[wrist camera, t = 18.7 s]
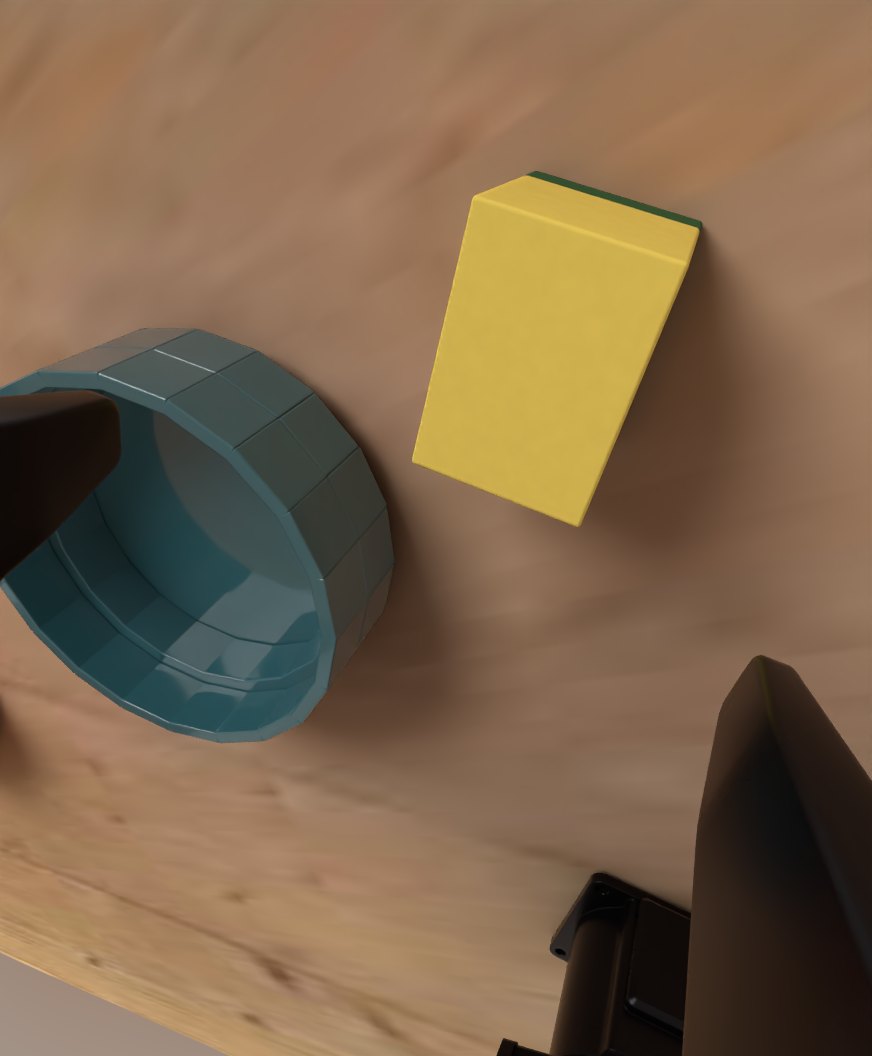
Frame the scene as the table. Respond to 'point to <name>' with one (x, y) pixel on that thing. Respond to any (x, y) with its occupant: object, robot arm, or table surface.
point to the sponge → (548, 338)
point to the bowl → (210, 541)
